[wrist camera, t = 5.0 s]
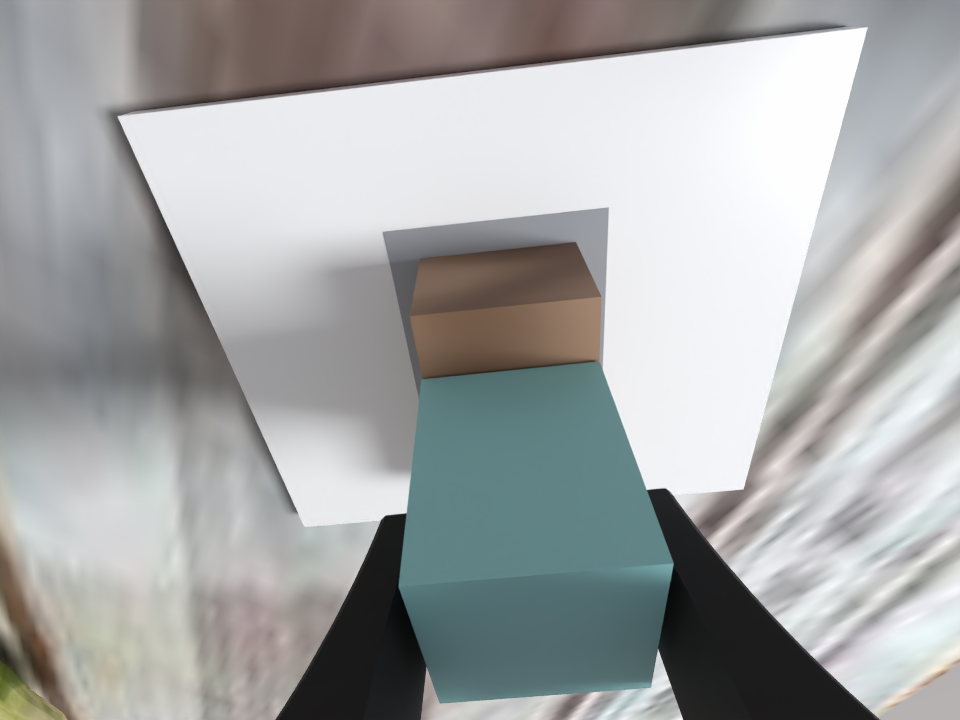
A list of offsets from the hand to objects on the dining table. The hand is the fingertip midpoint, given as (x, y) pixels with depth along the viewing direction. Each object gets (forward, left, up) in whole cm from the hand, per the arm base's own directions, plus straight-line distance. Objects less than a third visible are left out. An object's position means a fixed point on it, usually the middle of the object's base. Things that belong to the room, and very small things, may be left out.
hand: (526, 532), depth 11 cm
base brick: (0, 0, -6) cm, 6 cm away
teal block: (0, 0, -2) cm, 3 cm away
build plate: (0, -1, -6) cm, 6 cm away
